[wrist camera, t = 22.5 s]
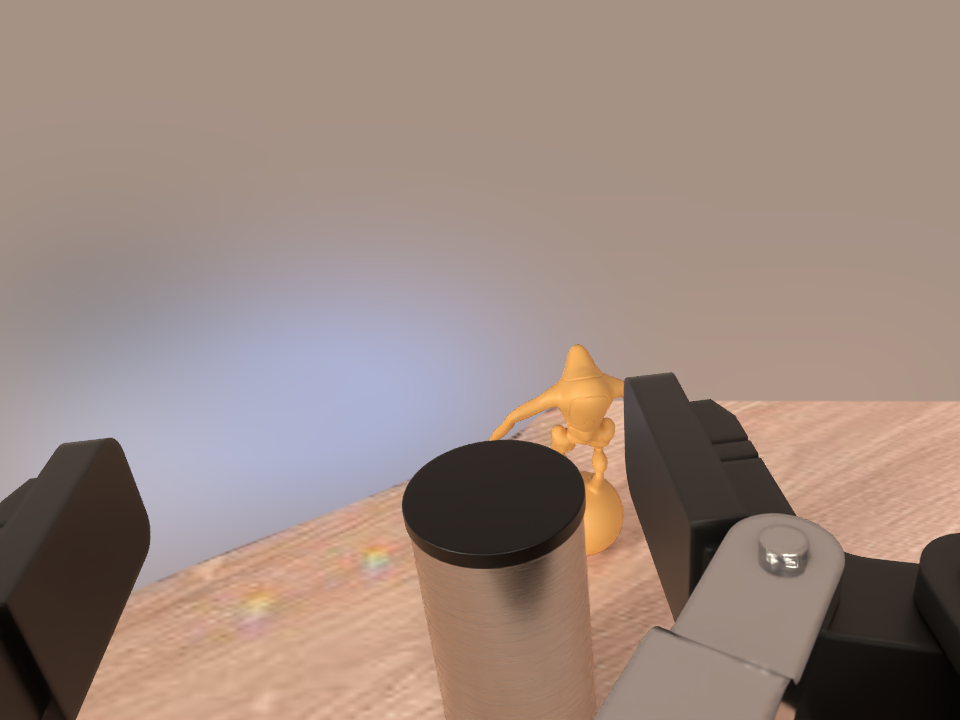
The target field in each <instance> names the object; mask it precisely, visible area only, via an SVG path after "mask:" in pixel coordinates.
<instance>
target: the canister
mask: <svg viewBox="0 0 960 720" xmlns="http://www.w3.org/2000/svg"><path fill="white" fill-rule="evenodd" d="M585 509H586V493H585V484H584V480H583V478H582V475H581V473H580V472H579V470H578V468H577V467H576V466H575V465H574V464H573V463H572V461H570V460H569V459H568V458H567V457H565V456H564V455H562V454H561V453H559V452H557V451H555V450H553V449H551V448H549V447H546V446H543V445H540V444H536V443H532V442H526V441H519V440H492V441H484V442H477V443H473V444H468V445H465V446H462V447H459V448H455V449H453V450H451V451H449V452H446V453H444V454H442V455H440V456H438V457H436V458H435V459H433V460H432V461H430V462H428V463H427V464H426V465H425V466H423V467H422V468H421V469H420V470H419V471H418V472H417V473H416V474H415V475H414V476H413V478H412V479H411V480H410V482H409V484H408V485H407V487H406V490H405V492H404V495H403V500H402V512H403V517H404V522H405V526H406V530H407V532H408V534H409V536H410V538H411V541H412V546H413V552H414V557H415V562H416V567H417V572H418V577H419V583H420V588H421V593H422V598H423V603H424V608H425V614H426V619H427V624H428V629H429V634H430V639H431V644H432V650H433V655H434V660H435V665H436V670H437V675H438V681H439V686H440V691H441V696H442V701H443V706H444V712H445V717H446V720H594V718H595V716H596V715H597V713H596V698H595V682H594V667H593V651H592V636H591V620H590V605H589V589H588V574H587V558H586V543H585V527H584V513H585Z"/></svg>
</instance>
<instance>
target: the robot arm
mask: <svg viewBox="0 0 960 720" xmlns="http://www.w3.org/2000/svg"><path fill="white" fill-rule="evenodd" d="M624 430H625V463H626V473H627V480H628V485H629V490H630V494H631V497H632V501H633V503H634V506H635V509H636V512H637V515H638V518H639V521H640V523H641V526H642V529H643V532H644V535H645V538H646V541H647V544H648V546H649V549H650V552H651V555H652V558H653V561H654V564H655V566H656V569H657V572H658V575H659V578H660V581H661V584H662V586H663V589H664V592H665V595H666V598H667V601H668V604H669V606H670V609H671V612H672V615H673V618H674V621H675V624H674V626H673V627H672V628H671V630H670V631H669V630H666V629H664V628H661V627H659V626H655V627H653V628H652V629H650V630H649V631H648V633H647V634H646V635H645V636H644V638H643V639H642V641H641V642H640V644H639V646H638V647H637V649H636V651H635V652H634V654H633V655H632V657H631V659H630V660H629V662H628V664H627V665H626V667H625V669H624V670H623V672H622V674H621V675H620V677H619V678H618V680H617V682H616V683H615V685H614V687H613V688H612V690H611V692H610V693H609V695H608V697H607V698H606V700H605V701H604V703H603V705H602V706H601V708H600V710H599V711H598V713H597V715H596V716H595V718H594V720H960V533H956V534H949V535H945V536H942V537H939V538H937V539H935V540H933V541H931V542H930V543H929V544H928V545H927V546H926V547H925V548H924V550H923V551H922V554H921V558H920V563H919V564H916V563H907V562H898V561H889V560H881V559H872V558H866V557H860V556H856V555H852V554H849V553H846V552H843V548H842V547H841V545H840V543H839V542H838V541H837V539H836V538H835V537H834V536H833V535H832V534H831V533H829V532H828V531H827V530H826V529H824V528H823V527H821V526H819V525H818V524H816V523H814V522H811V521H809V520H806V519H804V518H801V517H797V516H796V514H795V513H794V511H793V510H792V508H791V506H790V505H789V503H788V501H787V500H786V498H785V496H784V495H783V493H782V492H781V490H780V488H779V487H778V485H777V483H776V482H775V480H774V478H773V477H772V475H771V474H770V472H769V470H768V469H767V467H766V465H765V464H764V462H763V460H762V459H761V458H759V457H758V452H757V451H756V449H755V447H754V446H753V444H752V442H751V441H748V436H747V434H746V433H745V431H744V429H743V428H742V426H741V424H740V423H739V421H738V420H737V418H736V416H735V415H733V414H732V413H730V412H729V411H727V410H726V409H724V408H723V407H722V406H720V405H719V404H717V403H716V402H714V401H713V400H711V399H709V400H700V401H692V402H689V400H688V399H687V397H686V395H685V393H684V391H683V389H682V387H681V385H680V384H679V382H678V380H677V378H676V376H675V375H674V373H672V372H671V373H662V374H653V375H645V376H636V377H628V378H626V379H625V381H624ZM149 545H150V524H149V519H148V515H147V512H146V509H145V507H144V504H143V501H142V499H141V496H140V494H139V491H138V488H137V486H136V483H135V481H134V478H133V475H132V473H131V470H130V467H129V465H128V462H127V459H126V457H125V454H124V452H123V449H122V447H121V446H120V444H119V443H118V441H116V440H115V439H113V438H105V439H96V440H88V441H79V442H71V443H64V444H62V445H60V446H59V447H58V448H57V449H56V451H55V452H54V454H53V455H52V456H51V458H50V459H49V461H48V462H47V464H46V465H45V467H44V468H43V470H42V471H41V473H40V474H39V475H38V477H37V478H33V479H29V480H28V481H27V482H26V483H24V484H23V485H22V486H21V487H19V488H18V489H17V490H15V491H14V492H13V493H12V494H10V495H9V496H8V497H7V498H5V499H4V500H3V501H2V502H1V503H0V720H76V718H77V715H78V713H79V711H80V708H81V706H82V704H83V701H84V699H85V697H86V695H87V692H88V690H89V688H90V685H91V683H92V681H93V678H94V676H95V674H96V672H97V669H98V667H99V665H100V662H101V660H102V658H103V655H104V653H105V651H106V649H107V646H108V644H109V642H110V639H111V637H112V635H113V632H114V630H115V628H116V625H117V623H118V621H119V619H120V616H121V614H122V612H123V609H124V607H125V605H126V602H127V600H128V598H129V596H130V593H131V591H132V589H133V586H134V584H135V582H136V579H137V577H138V575H139V572H140V570H141V568H142V566H143V563H144V561H145V559H146V556H147V554H148V550H149Z"/></svg>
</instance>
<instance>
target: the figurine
mask: <svg viewBox="0 0 960 720" xmlns="http://www.w3.org/2000/svg"><path fill="white" fill-rule="evenodd" d="M618 397H624V381H623V380H621V379H618V378H614V377H611V376H609V375H607V374H605V373H603V372H602V371H601V370H600V369H599V368H598V367H597V366H596V364H595V363H594V361H593V359H592V358H591V356H590V354H589V353H588V351H587V350H586V348H584V347H583V346H582V345H579V344H577V345H574V346H573V347H572V348H571V349H570V351H569V353H568V355H567V360H566V365H565V370H564V373H563V375H562V377H561V379H560V380H559V381H558V382H557V383H556V384H555V385H553V386H552V387H551V388H549V389H547V390H546V391H545V392H544V393H542V394H541V395H540V396H538V397H537V398H535V399H532V400H530V401H528V402H526V403H524V404H523V405H521V406H519V407H518V408H516V409H515V410H514V411H512V412H511V413H510V414H508V415H507V417H506V418H505V420H504V422H503V423H502V424H501V425H500V426H499V427H497V429H495V431H494V432H493V434H492V436H491V437H490V439H489V441H492V440H499V439H501V438H502V437H503V436H505V435H506V434H507V433H508V431H509V430H510V429H511V428H512V427H513V426H514V424H515V422H518V421H521V420H524V419H526V418H529V417H530V416H533V415H535V414H537V413H539V412H541V411H543V410H545V409H547V408H551V407H559V409H560V411H561V413H562V414H563V417H564V419H565V421H566V423H567V425H568V428H564V427H563V426H561V425H556V426H554V427H553V429H552V431H551V436H552V441H551V448H552V449H553V450H555V451H557V452H559V453H561V454H562V455H564V456H565V452H567V451H570V450H573V449H574V447H575V443H578V444H582V445H586V444H589V445H590V446H591V447H594V454H593V457H592V466H593V468H594V470H595V474H594V473H591V472H585V471H579V472H580V473H581V475H582V478H583V480H584V484H585V493H586V509H585V513H584V527H585V543H586V556H589V555H593V554H597V553H599V552H601V551H603V550H605V549H606V548H607V547H609V546H610V545H611V544H612V543H613V542H614V541H615V539H616V538H617V536H618V534H619V532H620V530H621V527H622V524H623V506H622V502H621V499H620V497H619V495H618V493H617V491H616V490H615V488H614V487H613V486H612V485H611V484H610V483H609V482H608V481H607V480H606V479H604V471H605V470H606V468H607V464H608V461H607V457H606V455H605V454H604V452H603V449H602V448H604V447H606V446H607V445H608V444H609V442H610V440H611V439H612V438H613V437H614V432H615V424H614V422H613V421H612V420H611V419H610V418H604V416H605V414H606V412H607V410H608V409H609V407H610V405H611V403H612V401H613V400H614V399H615V398H618ZM603 418H604V419H603ZM565 457H566V456H565Z"/></svg>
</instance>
